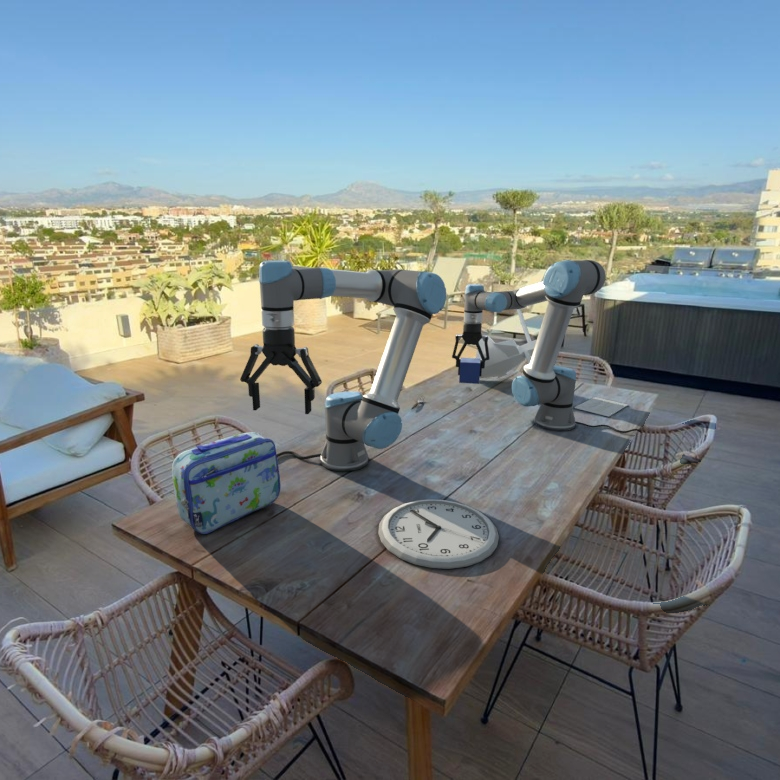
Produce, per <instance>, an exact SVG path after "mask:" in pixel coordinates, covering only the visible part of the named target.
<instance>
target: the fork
mask: <svg viewBox="0 0 780 780" xmlns="http://www.w3.org/2000/svg"><path fill="white" fill-rule="evenodd" d="M425 397H426V395H420V396H419V397H418V398H417V402H416V403H414V404H413V406H412V407H411V410H413V409H415V408H416V407H418V405H419V403H423V402H424V400H425Z"/></svg>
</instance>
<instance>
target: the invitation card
mask: <svg viewBox="0 0 780 780" xmlns="http://www.w3.org/2000/svg"><path fill="white" fill-rule="evenodd" d="M628 406H629V404H627V403H623V402H618V401H614V400H609V399H605V398H601V397H596V396H593V397H592V398H590V399H588V400H586V401H584V402H582V403H580V404H578V405H575V406H574V407H573V409H575V410H581V411H584V412H587V413H593V414H596V415H600V416H604V417H608V418H609V417H611V416H613V415H614V414H616V413H617V412H619V411H621V410H623V409H624V408H626V407H628Z"/></svg>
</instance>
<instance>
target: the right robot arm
mask: <svg viewBox="0 0 780 780" xmlns="http://www.w3.org/2000/svg"><path fill="white" fill-rule="evenodd" d="M606 275H607V273H606V271H605V268H604V267H603V266H602V264H600V262H598V261H596V260H592V259H581V260H580V259H578V260H572V259H565V260H559V261H557V262H555V263H553V264H551V265H550V266H549V267H548V268H547V269H546V271H545V273H544V276H543V280H542V281H540V282H537V283H533V284H530V285H526V286H524V287H523V286H522V287H520V288H517V289H512V290H503V291H487V290H485V286H484V285H483V284H473V283H471V284H466V286H465V291H464V292H465V293H464V307H463V308H464V309H463V323H462V324H463V326H462V333H461V334H455V336H454V337H455V338H454V339H455V343H454V346H453V350H452V355H451V358H452V359H454V360H455V367H456V368H458V369H457V376H460V361H461V356H462V354H463V352H464V351H465V349H466V347H467V346H470V345H472V346H476V348H477V349H476V350H478V351H479V354H480V356H481V359H482V360H480V376H481V372H482V368H485V361H486V360H489V350H488V343H487V342H488V336H482V335H483V334H482V329H483V327H482V325H483V324H482V322H483V311H486V312H491V313H498V314H499V313H502V312H503V311H509V310H517V309H520V310H522V309H525V308H527V307H529V306H533V305H536V304H540V303H544V302H547V306H546V309H545V312H544V314H543V315H544V316H543V318H542V321H541V326H540V328H539V331H538V334H537V337H536V340H537V341H536V344H535V347H534V350H533V354H532V356H530V357H531V360H530V363H529V364H528V363H526V364H524V365H523V369H522V372H521V374H520V375H517V376H515V378H514V379H512V383H511V392H512V395H513V397H514V399H515V401H516V402H517V403H518V404H519V405H521V406H522V407H535V406H538V405H539V407H538V410H537V411H536V413H535V416H534V424H535V425H536V426H537V427H539V428H542V429H544V430H549V431H556V432H567V431H572V430H574V429H575V428H576V424H577V425H581V426H584V427H587V428H600V427H603V428H605V427H606V428H608V429H611V430H613V431H615V432H617V433H620V434H627V433H631V432H635V431H637V432H638V433H640V434H643V431H642V430H641V429H639V428H632V429H628V430H619V429H616V428H615V427H613V426H611V425H608V424H597V425H591V424H587V423H584V422H581V421H576V418H575V417H576V416H575V413H574V407H573V405H574V398H575V390H576V383H577V372H576V371H575V369H572V368H571V367H570V368H569V367H566V366H561V365H556V363H557V359H558V357H559V354H560V351H561V348H562V345H563V342H564V340H565V336H566V333H567V330H568V328H569V324H570V321H571V318H572V315H573V313H574V310H575V309H576V308H578V307H580V306H581V303H582V301H583V298H584V296H589V295H593V294H596V293H598V291H600V290H601V289H602V288H603V287H604V285H605V283H606V277H607V276H606ZM461 338H462V340H463V341H464V342H463V344H462V345H461V348H460V350H459V352H458V353H457V350H458V346H459V342H460V341H461ZM481 338H482V339H483V341H484V342H485V351H486V357H484V355H483V352H482V350H481V347H480V345H479V341H480V340H481ZM456 354H457V355H456Z"/></svg>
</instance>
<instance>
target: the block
mask: <svg viewBox="0 0 780 780" xmlns="http://www.w3.org/2000/svg"><path fill="white" fill-rule="evenodd" d="M460 359H461V361H460V375H458V376H459V378H458V379H459V380H458V383H459V384H474V385H480V378H479V377H480V359H478V358H476V357H460Z"/></svg>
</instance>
